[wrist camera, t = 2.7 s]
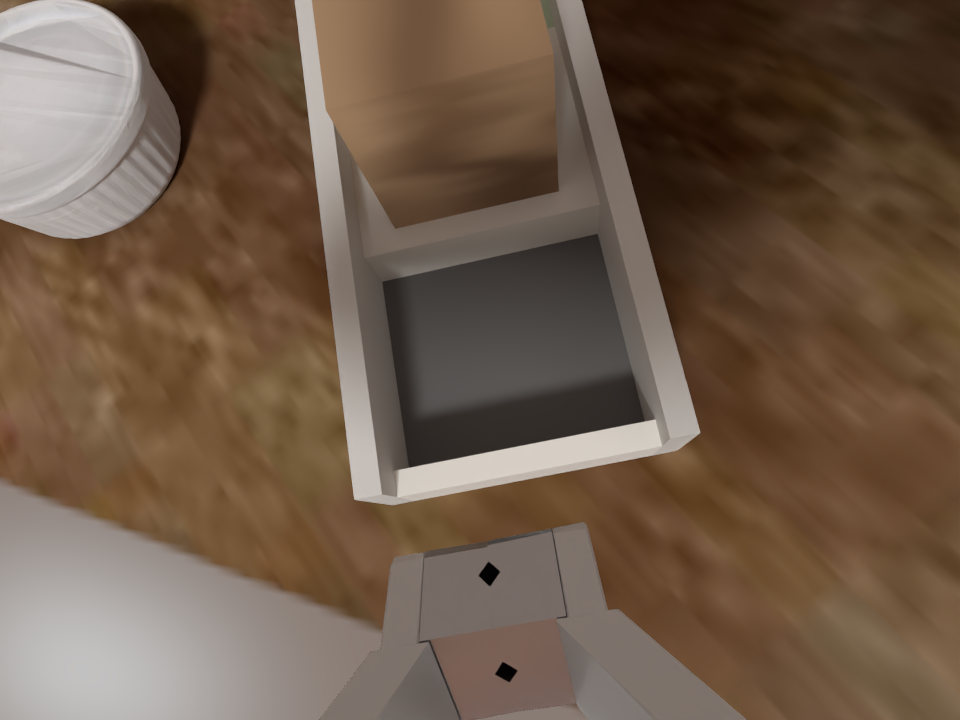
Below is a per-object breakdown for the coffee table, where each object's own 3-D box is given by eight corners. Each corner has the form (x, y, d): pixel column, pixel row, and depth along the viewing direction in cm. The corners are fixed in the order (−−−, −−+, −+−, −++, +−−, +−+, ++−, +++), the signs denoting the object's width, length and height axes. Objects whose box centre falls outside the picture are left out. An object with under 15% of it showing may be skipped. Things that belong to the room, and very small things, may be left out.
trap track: (676, 450, 26) (700, 432, 21) (392, 505, 27) (354, 499, 22) (501, -219, 37) (491, -330, 32) (302, -162, 38) (263, -261, 33)
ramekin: (193, 46, 35) (129, -35, 30) (214, 225, 32) (147, 168, 27) (6, 103, 36) (-86, 33, 31) (9, 282, 33) (-93, 237, 28)
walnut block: (526, 53, 28) (509, -123, 21) (558, 191, 27) (553, 53, 19) (374, 91, 29) (303, -67, 21) (395, 228, 27) (326, 109, 19)
